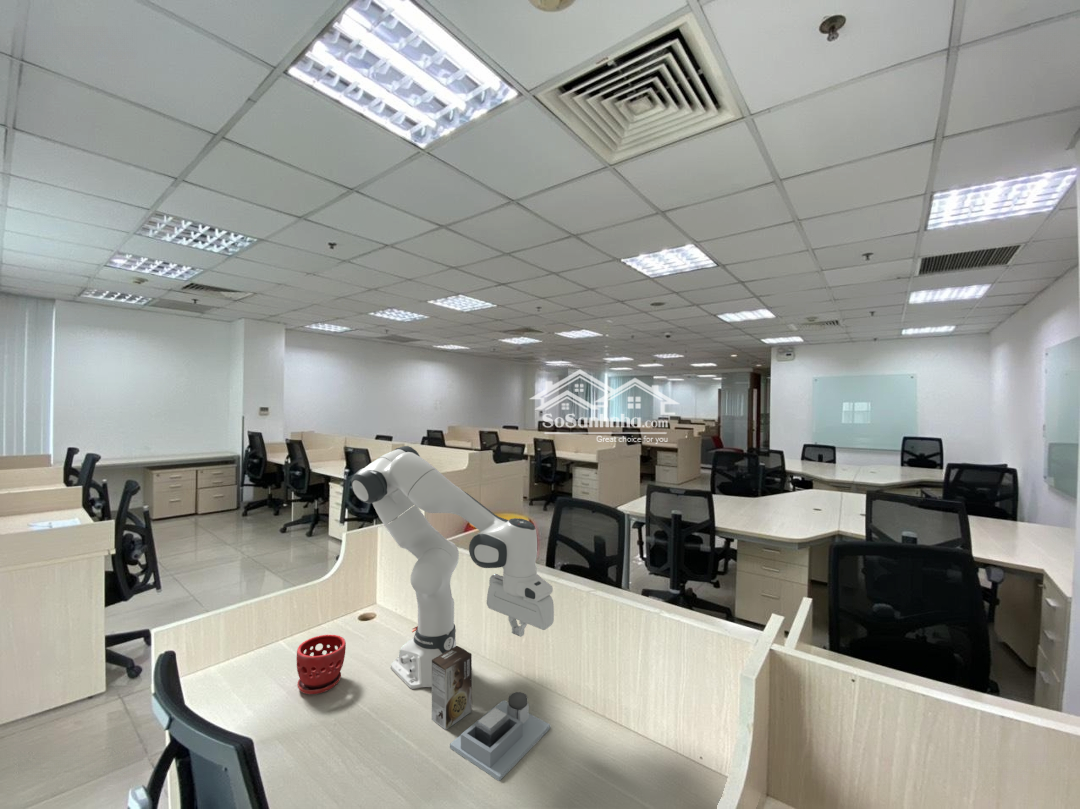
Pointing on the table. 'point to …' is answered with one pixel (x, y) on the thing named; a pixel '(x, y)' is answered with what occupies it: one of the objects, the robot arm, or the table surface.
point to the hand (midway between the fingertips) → (517, 634)
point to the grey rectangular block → (492, 727)
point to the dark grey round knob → (517, 700)
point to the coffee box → (451, 686)
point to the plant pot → (320, 664)
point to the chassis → (502, 742)
